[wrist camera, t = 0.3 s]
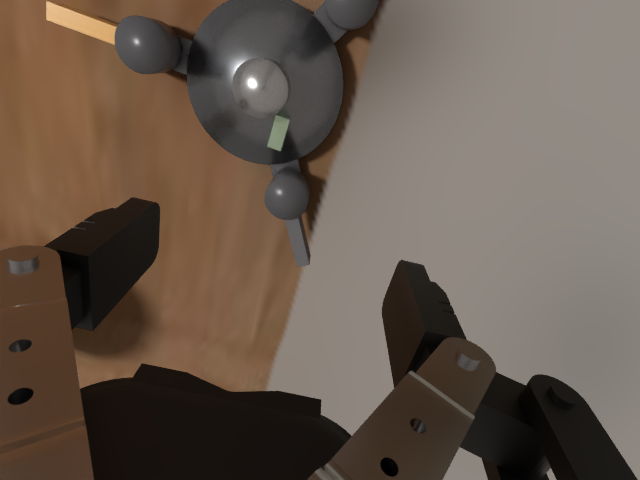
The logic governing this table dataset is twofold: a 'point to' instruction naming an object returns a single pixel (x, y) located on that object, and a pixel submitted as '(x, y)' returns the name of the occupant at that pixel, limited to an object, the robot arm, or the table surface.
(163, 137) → the table surface
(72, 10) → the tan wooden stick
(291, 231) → the knob
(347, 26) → the grey bar with ball
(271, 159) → the base
